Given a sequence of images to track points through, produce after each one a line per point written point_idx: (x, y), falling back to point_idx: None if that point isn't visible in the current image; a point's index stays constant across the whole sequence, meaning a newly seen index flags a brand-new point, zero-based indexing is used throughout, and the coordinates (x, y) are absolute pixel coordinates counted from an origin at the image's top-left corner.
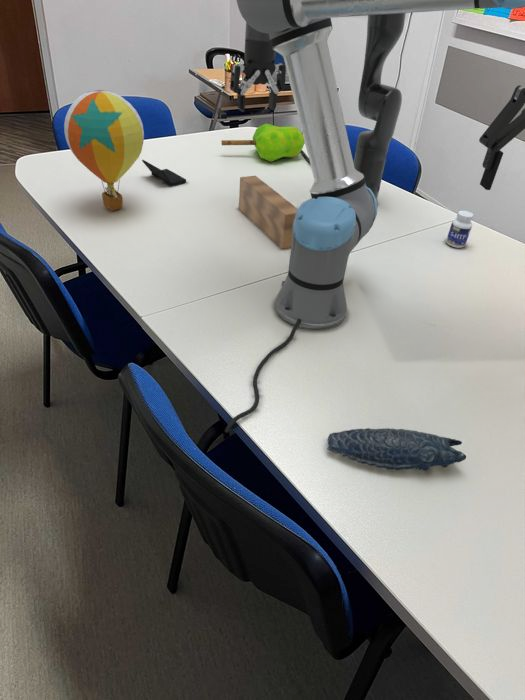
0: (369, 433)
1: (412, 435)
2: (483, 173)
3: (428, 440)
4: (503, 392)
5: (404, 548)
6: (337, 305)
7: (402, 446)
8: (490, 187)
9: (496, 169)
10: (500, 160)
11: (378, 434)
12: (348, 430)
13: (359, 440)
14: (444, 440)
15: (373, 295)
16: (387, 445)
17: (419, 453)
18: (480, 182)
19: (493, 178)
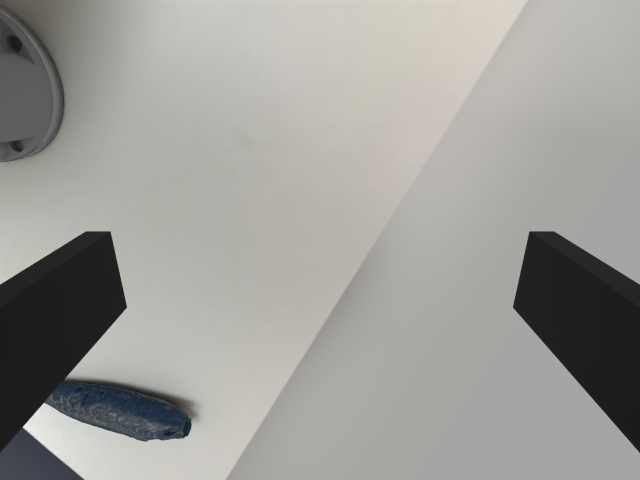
0: (73, 411)
1: (119, 426)
2: (43, 260)
3: (137, 433)
4: (305, 312)
5: (121, 474)
6: (8, 140)
7: (111, 427)
8: (116, 314)
9: (48, 387)
10: (4, 444)
11: (82, 415)
12: (55, 392)
13: (64, 411)
14: (156, 436)
15: (135, 15)
16: (95, 423)
17: (130, 436)
18: (80, 238)
19: (87, 346)
